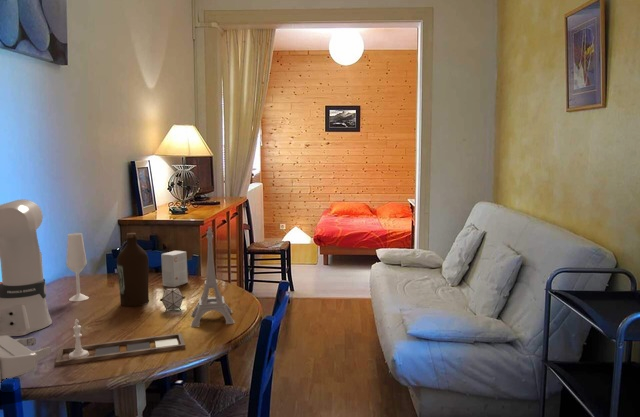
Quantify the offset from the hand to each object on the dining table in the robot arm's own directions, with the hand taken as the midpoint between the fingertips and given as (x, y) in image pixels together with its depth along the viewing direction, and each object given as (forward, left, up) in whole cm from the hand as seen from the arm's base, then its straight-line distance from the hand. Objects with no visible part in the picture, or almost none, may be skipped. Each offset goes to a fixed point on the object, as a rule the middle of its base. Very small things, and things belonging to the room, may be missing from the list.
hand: (42, 345), depth 132 cm
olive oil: (+23, +50, -6) cm, 56 cm away
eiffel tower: (+46, +22, -6) cm, 51 cm away
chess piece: (+8, +4, -6) cm, 11 cm away
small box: (+39, +71, -6) cm, 81 cm away
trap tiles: (+19, +4, -6) cm, 20 cm away
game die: (+35, +36, -6) cm, 51 cm away
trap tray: (+19, +4, -6) cm, 20 cm away
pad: (+30, +4, -6) cm, 31 cm away
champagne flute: (+4, +63, -6) cm, 64 cm away
